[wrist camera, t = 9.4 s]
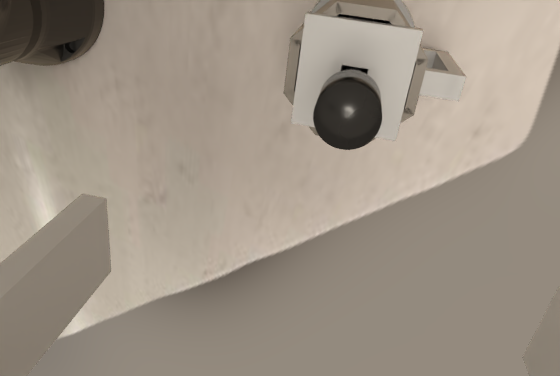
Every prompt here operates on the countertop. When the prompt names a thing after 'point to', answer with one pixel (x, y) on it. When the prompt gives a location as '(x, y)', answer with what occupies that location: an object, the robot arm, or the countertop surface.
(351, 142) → the plunger
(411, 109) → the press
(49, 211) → the countertop surface
